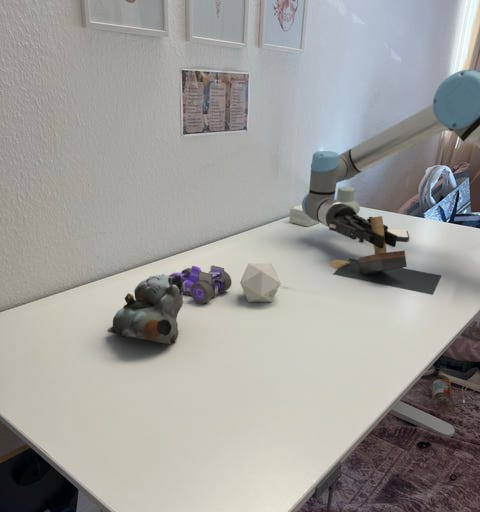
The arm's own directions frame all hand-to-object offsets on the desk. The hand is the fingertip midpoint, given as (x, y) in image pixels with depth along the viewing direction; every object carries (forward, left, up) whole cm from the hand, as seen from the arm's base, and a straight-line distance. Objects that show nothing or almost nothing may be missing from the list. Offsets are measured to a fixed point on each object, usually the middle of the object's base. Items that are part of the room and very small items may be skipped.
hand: (388, 242), depth 113 cm
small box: (+37, -40, -11) cm, 55 cm away
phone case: (+10, -40, -11) cm, 42 cm away
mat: (0, -4, -10) cm, 11 cm away
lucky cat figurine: (+33, +50, -11) cm, 61 cm away
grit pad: (+13, -4, -10) cm, 17 cm away
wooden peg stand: (0, 0, -7) cm, 7 cm away
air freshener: (+28, -56, -11) cm, 63 cm away
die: (+22, +24, -11) cm, 34 cm away
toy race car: (+37, +28, -11) cm, 48 cm away
